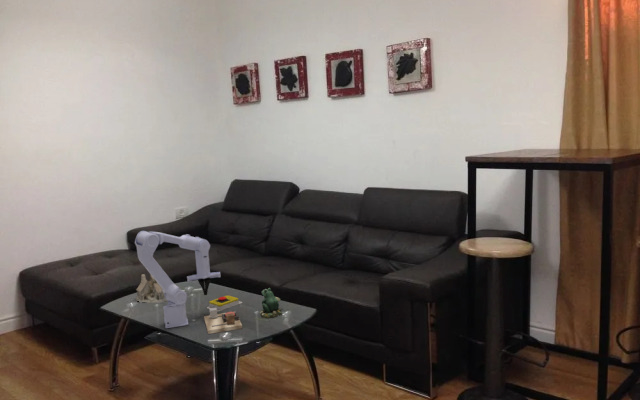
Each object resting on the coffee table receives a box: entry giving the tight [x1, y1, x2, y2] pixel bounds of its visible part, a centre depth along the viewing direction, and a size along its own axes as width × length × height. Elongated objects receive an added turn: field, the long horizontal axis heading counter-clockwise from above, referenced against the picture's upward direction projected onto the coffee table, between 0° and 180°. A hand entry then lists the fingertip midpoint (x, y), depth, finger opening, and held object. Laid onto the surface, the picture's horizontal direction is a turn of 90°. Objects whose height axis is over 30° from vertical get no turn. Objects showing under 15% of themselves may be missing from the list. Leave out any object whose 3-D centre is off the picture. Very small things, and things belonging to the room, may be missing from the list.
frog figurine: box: [254, 287, 283, 322], centre depth 242 cm, size 18×18×12 cm
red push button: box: [224, 311, 235, 317], centre depth 235 cm, size 4×4×2 cm
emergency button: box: [206, 295, 243, 313], centre depth 258 cm, size 9×4×15 cm
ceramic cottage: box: [135, 273, 168, 304], centre depth 273 cm, size 16×16×15 cm
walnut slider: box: [226, 313, 235, 324], centre depth 229 cm, size 3×3×4 cm
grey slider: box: [208, 308, 218, 318], centre depth 238 cm, size 3×3×4 cm
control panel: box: [203, 311, 243, 335], centre depth 234 cm, size 14×18×3 cm
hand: (205, 294), depth 245 cm, fingers closed
